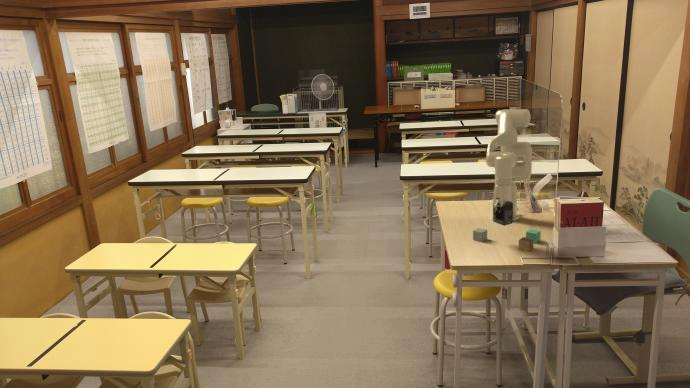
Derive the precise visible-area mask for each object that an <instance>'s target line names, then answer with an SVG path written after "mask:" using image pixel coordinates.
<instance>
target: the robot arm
mask: <svg viewBox="0 0 690 388" xmlns="http://www.w3.org/2000/svg"><path fill="white" fill-rule="evenodd" d="M495 122H496V124H497V128H498V129H497V135H496V136H495V137H493V138H492V139H491V140H490V141H489V143H488V145H487V147H486V156H485V163H486V165H487V166H488V167H489V168H494V188H493V199H492V206H493V205H494V209H495V212H496V214H495V219H497V220H502V212H501V211H502V207H503V205H504V204H505V203H507V202H512V203H513V222H515V221H518V220H519V219H520V215H519V214H517V213H518V211H519V210H520V208H519V207H518V206H517V205H518V203H517V202H518V188H517V187H518V186H517V185H516V183H515V182H514V181H528V180H530V179H531V177H532V170H533V169H532V167H533V165H532V164H533V163H532V161H533V160H532V158H533V148H532V145H531V143H530V142H529V141H519V140H518V131H517V128H528V127H529V125H530V122H531V113H530V110H529V109H527V108H525V109H523V108H516V109H515V108H514V109H513V108H512V109H509V108H508V109H500V110H498V111H496V112H495ZM497 148H500V151H495V150H496V149H497ZM518 160H521V162H520V161H518ZM498 204H501V205H498ZM498 207H500V209H499V208H498Z"/></svg>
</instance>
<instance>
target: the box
mask: <svg viewBox="0 0 690 388" xmlns="http://www.w3.org/2000/svg"><path fill="white" fill-rule="evenodd" d="M498 205H501V204H498ZM498 208H499V209H500V207H498ZM501 212H502V220H497V219H495V214H496V212H495V209H494V205H493V204H492V222H493V223H496V224H498V225H501V226H508V225H512V224H513V223H514V221H513V203H512V202H507V203H505V204H504V205H503V207H502V211H501Z"/></svg>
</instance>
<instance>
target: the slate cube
mask: <svg viewBox="0 0 690 388" xmlns="http://www.w3.org/2000/svg"><path fill="white" fill-rule="evenodd" d="M472 240H473V241H476V242H481V243H482V242H485V241H486V240H488V229H485V228H480V227H477V228H475V229H473V230H472Z"/></svg>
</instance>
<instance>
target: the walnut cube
mask: <svg viewBox="0 0 690 388" xmlns="http://www.w3.org/2000/svg"><path fill="white" fill-rule="evenodd" d="M534 245H535V243H534V239H531V238H526V236H524V237H522V238H520V239H519V240H518V251H520V252H521V251H522V252H526V253H530V252H531V251H533V250H534Z"/></svg>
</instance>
